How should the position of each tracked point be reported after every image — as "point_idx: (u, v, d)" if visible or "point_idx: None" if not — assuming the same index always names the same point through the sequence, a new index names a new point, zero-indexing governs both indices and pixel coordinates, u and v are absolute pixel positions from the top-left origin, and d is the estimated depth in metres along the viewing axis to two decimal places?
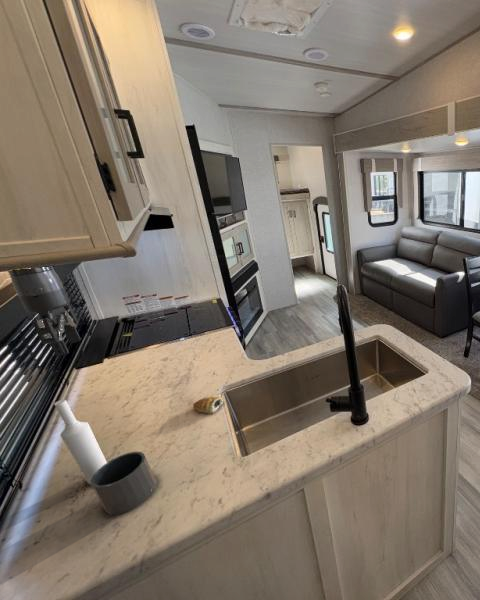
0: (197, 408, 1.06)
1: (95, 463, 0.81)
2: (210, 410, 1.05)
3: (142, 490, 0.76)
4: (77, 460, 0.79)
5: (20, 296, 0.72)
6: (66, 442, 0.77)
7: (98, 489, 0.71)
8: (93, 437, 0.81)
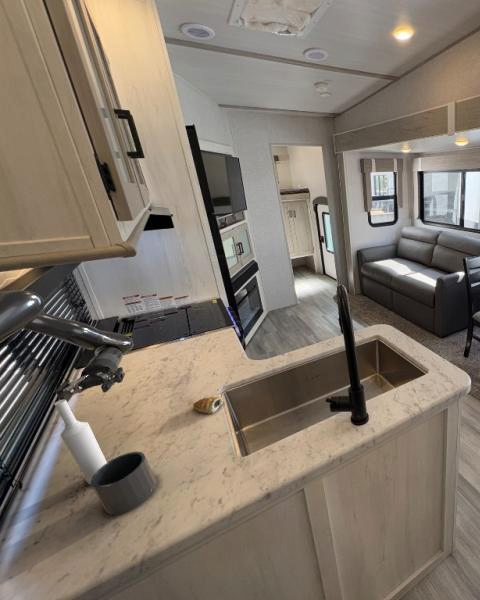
0: (197, 408, 1.06)
1: (95, 463, 0.81)
2: (210, 410, 1.05)
3: (142, 490, 0.76)
4: (77, 460, 0.79)
5: (107, 359, 0.99)
6: (66, 442, 0.77)
7: (98, 489, 0.71)
8: (93, 437, 0.81)
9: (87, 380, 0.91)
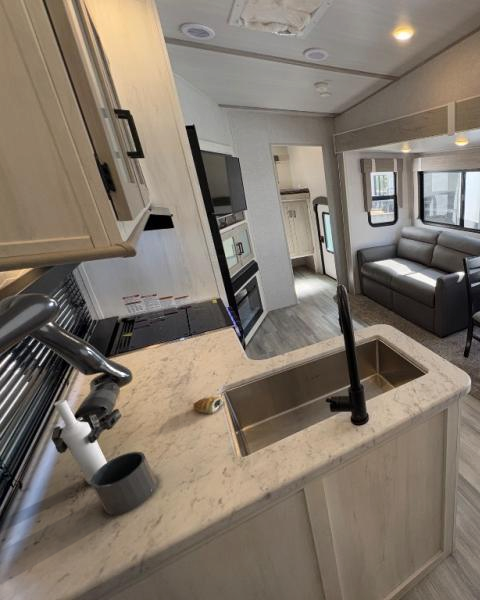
0: (197, 408, 1.06)
1: (95, 463, 0.81)
2: (210, 410, 1.05)
3: (142, 490, 0.76)
4: (77, 460, 0.79)
5: (103, 397, 0.91)
6: (66, 442, 0.77)
7: (98, 489, 0.71)
8: None
9: None
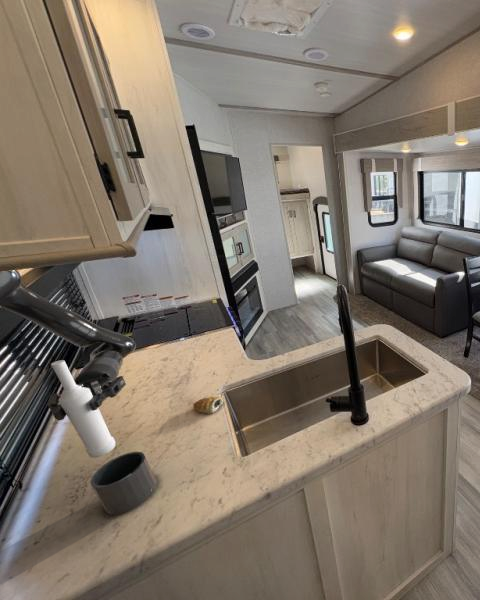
0: (197, 408, 1.06)
1: (97, 433, 0.72)
2: (210, 410, 1.05)
3: (142, 490, 0.76)
4: (77, 429, 0.70)
5: (105, 364, 0.82)
6: (65, 408, 0.68)
7: (98, 489, 0.71)
8: None
9: None
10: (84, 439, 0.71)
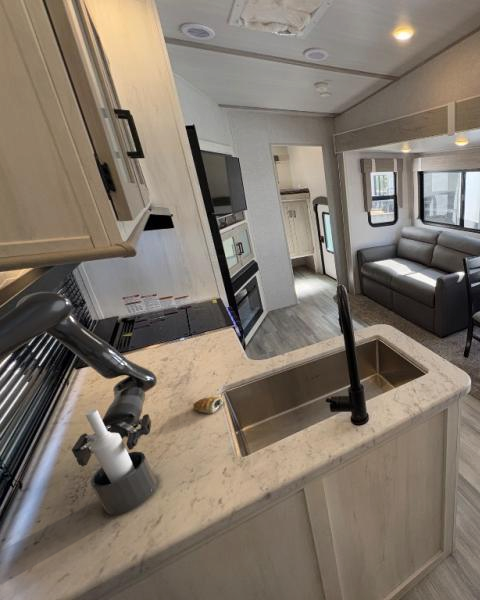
0: (197, 408, 1.06)
1: None
2: (210, 410, 1.05)
3: (142, 490, 0.76)
4: (108, 474, 0.73)
5: (130, 403, 0.84)
6: (97, 455, 0.71)
7: (98, 489, 0.71)
8: (124, 449, 0.75)
9: None
10: None
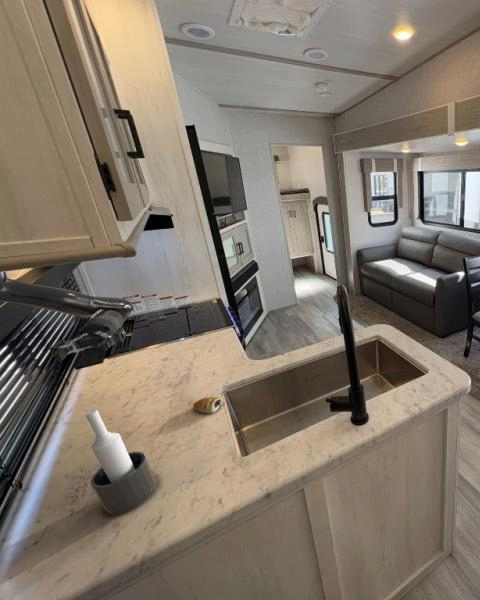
0: (197, 408, 1.06)
1: None
2: (210, 410, 1.05)
3: (142, 490, 0.76)
4: (108, 474, 0.73)
5: (107, 319, 0.91)
6: (97, 455, 0.71)
7: (98, 489, 0.71)
8: (124, 449, 0.75)
9: (85, 339, 0.83)
10: None
